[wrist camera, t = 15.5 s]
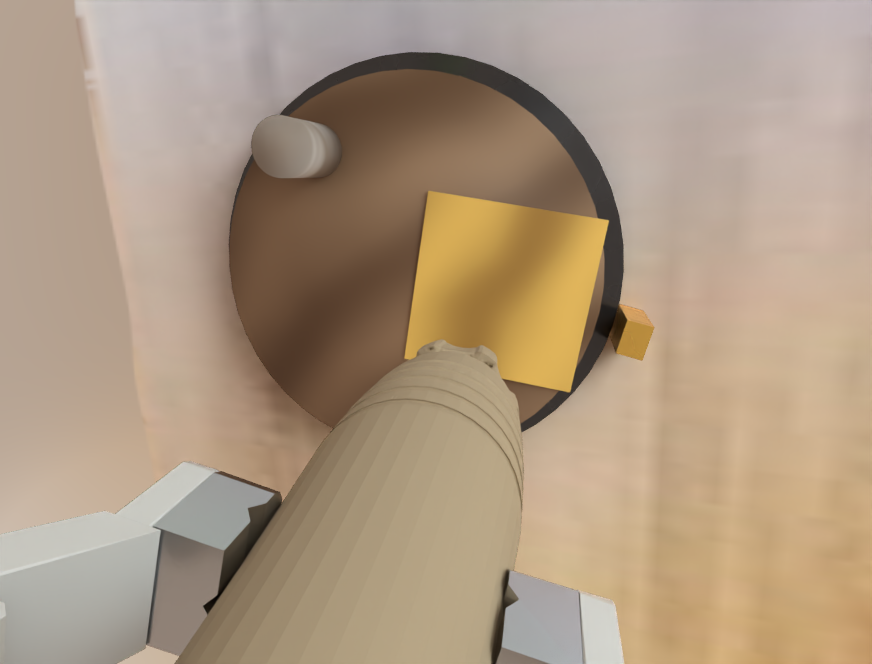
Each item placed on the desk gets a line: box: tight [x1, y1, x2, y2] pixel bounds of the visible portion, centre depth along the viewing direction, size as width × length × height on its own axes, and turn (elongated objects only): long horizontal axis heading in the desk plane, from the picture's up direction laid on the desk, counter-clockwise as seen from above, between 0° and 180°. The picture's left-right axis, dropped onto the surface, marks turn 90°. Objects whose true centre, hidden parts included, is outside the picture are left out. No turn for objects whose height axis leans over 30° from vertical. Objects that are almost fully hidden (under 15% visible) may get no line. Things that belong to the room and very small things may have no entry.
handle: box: [175, 339, 524, 664], centre depth 9 cm, size 5×6×15 cm
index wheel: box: [229, 69, 609, 428], centre depth 27 cm, size 18×18×6 cm
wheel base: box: [229, 52, 654, 432], centre depth 30 cm, size 20×21×4 cm
